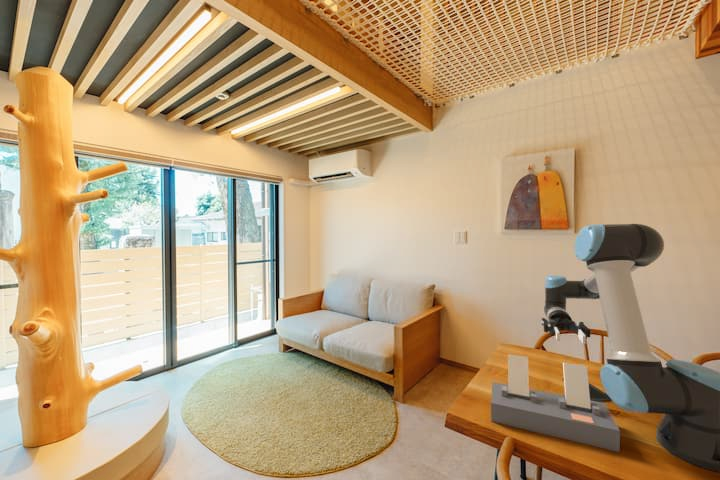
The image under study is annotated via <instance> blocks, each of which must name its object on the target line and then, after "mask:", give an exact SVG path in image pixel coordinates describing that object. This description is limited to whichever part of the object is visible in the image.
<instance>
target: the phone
mask: <svg viewBox="0 0 720 480" xmlns="http://www.w3.org/2000/svg"><path fill="white" fill-rule="evenodd" d="M563 381H564V377H563V378H562V382H563ZM588 383H589V394H590V400H591V401H597V402H611V401H612V400H611V398H610V397H609V396H608V394H607V393H606V392H604V391H603V390H601V389H599V388H597V386H595V385H592V383H590V382H588ZM612 402H613V401H612Z"/></svg>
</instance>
